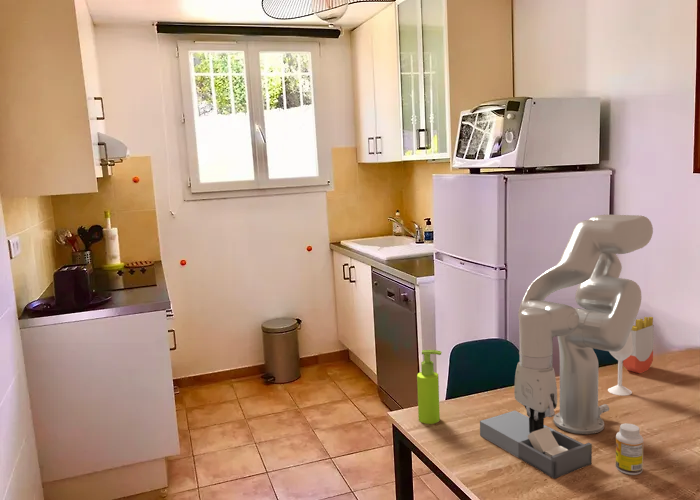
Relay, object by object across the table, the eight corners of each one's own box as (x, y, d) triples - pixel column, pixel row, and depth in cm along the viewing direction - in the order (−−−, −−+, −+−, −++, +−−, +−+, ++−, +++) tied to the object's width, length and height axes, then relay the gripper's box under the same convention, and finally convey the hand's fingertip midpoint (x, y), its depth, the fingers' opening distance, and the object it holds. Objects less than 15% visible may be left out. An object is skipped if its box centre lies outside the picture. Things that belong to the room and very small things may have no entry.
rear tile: (542, 431, 140) (548, 426, 138) (553, 450, 137) (559, 446, 135) (527, 436, 138) (532, 431, 136) (538, 455, 135) (543, 451, 133)
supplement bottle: (619, 461, 133) (620, 419, 132) (645, 468, 130) (646, 425, 128) (612, 471, 129) (612, 428, 128) (639, 478, 126) (640, 434, 124)
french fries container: (621, 371, 189) (622, 319, 187) (639, 364, 195) (640, 313, 193) (635, 375, 185) (636, 321, 183) (653, 367, 191) (654, 315, 189)
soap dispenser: (442, 424, 157) (441, 354, 154) (417, 423, 158) (415, 353, 155) (443, 415, 162) (441, 347, 160) (419, 414, 164) (417, 347, 161)
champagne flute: (607, 394, 172) (609, 316, 168) (607, 386, 178) (608, 310, 175) (632, 396, 169) (634, 317, 166) (631, 388, 175) (632, 312, 172)
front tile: (577, 454, 131) (577, 464, 131) (560, 445, 136) (560, 455, 136) (561, 460, 129) (561, 470, 129) (544, 451, 133) (544, 461, 134)
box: (554, 445, 142) (554, 426, 142) (591, 464, 133) (591, 443, 132) (518, 458, 137) (518, 438, 136) (553, 478, 127) (553, 457, 127)
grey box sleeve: (514, 424, 155) (514, 410, 154) (554, 445, 142) (554, 430, 142) (480, 435, 149) (479, 421, 149) (518, 458, 137) (518, 442, 136)
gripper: (502, 354, 142) (503, 425, 144) (547, 372, 128) (547, 449, 131) (525, 349, 145) (526, 418, 147) (572, 366, 131) (571, 441, 134)
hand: (536, 432), depth 139 cm, fingers closed
